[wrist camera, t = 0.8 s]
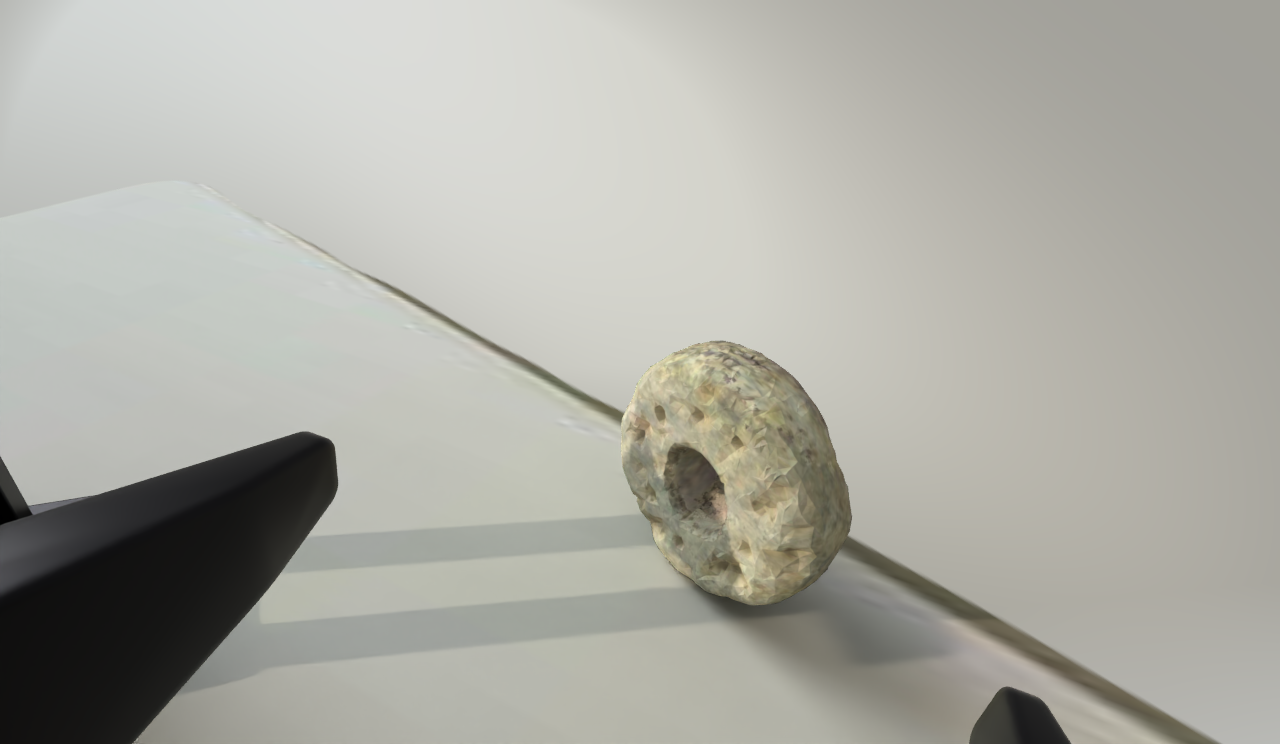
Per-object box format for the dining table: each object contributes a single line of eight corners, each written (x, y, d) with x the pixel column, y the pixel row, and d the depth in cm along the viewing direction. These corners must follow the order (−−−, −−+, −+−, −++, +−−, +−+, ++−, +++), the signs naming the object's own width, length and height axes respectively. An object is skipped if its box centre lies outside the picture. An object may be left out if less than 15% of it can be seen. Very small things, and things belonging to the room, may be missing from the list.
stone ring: (601, 494, 33) (624, 307, 27) (663, 468, 35) (697, 286, 29) (752, 673, 27) (825, 479, 21) (817, 628, 29) (902, 439, 23)
